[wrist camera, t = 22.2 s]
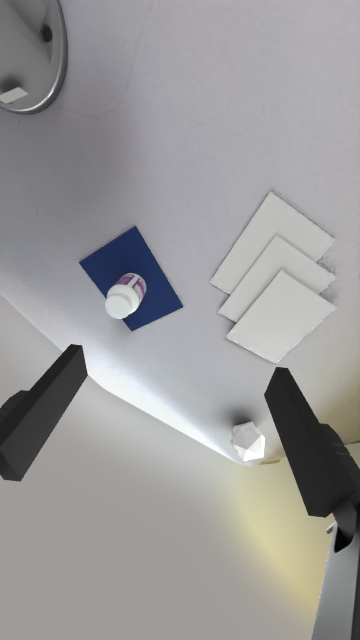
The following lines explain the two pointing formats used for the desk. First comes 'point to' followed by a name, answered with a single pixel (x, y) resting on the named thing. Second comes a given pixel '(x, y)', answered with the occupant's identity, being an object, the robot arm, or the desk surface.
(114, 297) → the pill bottle
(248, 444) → the die
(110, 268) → the cloth
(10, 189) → the desk surface
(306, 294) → the paper stack
